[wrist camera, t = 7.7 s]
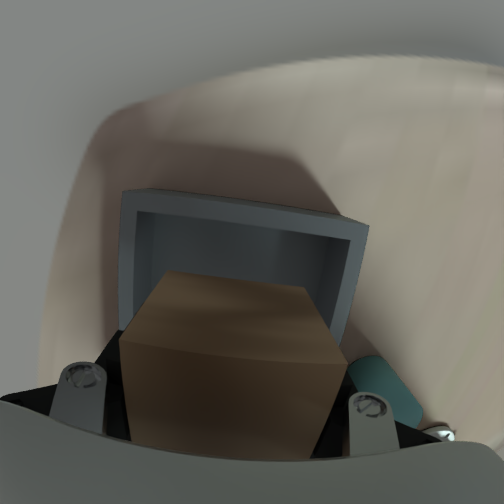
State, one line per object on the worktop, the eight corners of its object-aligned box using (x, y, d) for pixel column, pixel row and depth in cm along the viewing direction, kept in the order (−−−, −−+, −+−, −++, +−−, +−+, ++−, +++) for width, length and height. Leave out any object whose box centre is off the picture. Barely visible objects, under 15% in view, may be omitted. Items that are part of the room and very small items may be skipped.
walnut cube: (304, 287, 11) (348, 363, 6) (279, 391, 12) (296, 483, 7) (167, 270, 11) (118, 339, 6) (164, 379, 12) (137, 468, 7)
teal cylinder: (395, 356, 24) (432, 400, 18) (376, 397, 25) (405, 443, 19) (350, 354, 24) (382, 405, 17) (332, 398, 25) (355, 451, 18)
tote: (148, 188, 20) (122, 191, 15) (341, 215, 21) (369, 225, 16) (143, 391, 24) (129, 428, 19) (293, 409, 25) (302, 447, 20)
